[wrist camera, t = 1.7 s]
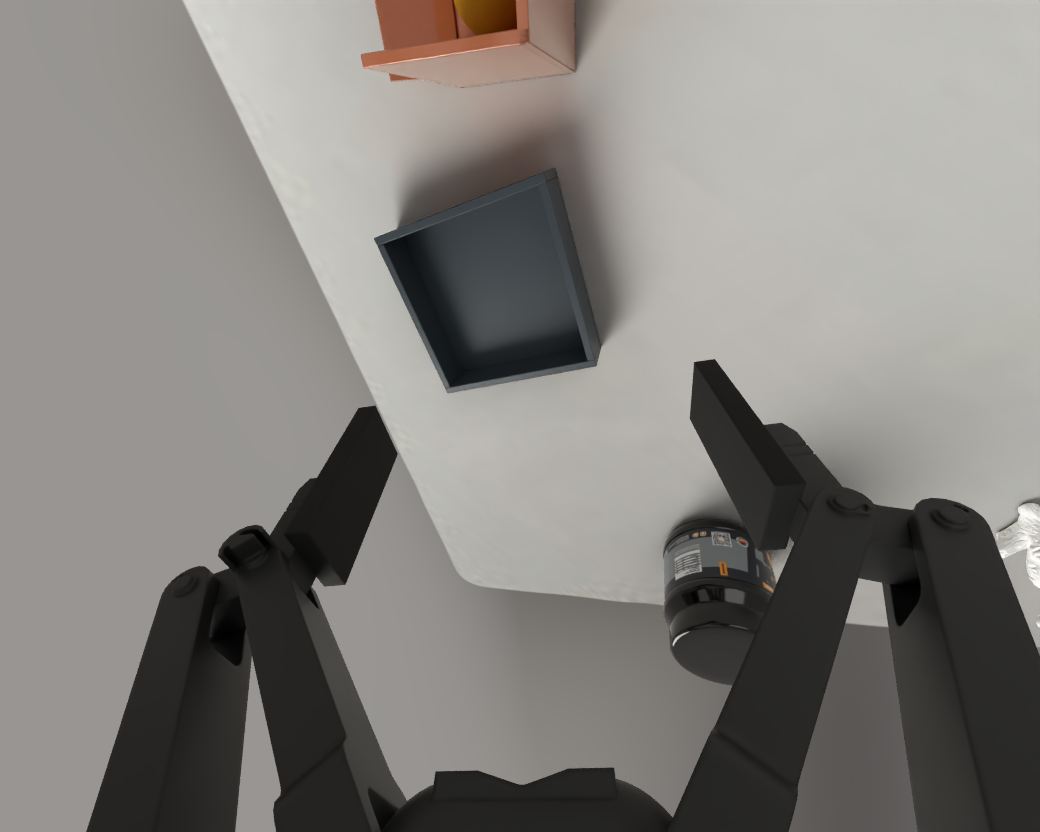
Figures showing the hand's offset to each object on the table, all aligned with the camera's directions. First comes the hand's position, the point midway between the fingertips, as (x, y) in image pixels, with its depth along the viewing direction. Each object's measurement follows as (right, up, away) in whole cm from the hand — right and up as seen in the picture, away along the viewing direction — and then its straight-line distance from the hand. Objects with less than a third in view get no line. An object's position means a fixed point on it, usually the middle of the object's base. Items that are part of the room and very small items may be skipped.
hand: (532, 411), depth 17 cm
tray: (-2, +11, +18) cm, 21 cm away
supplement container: (+21, -15, +28) cm, 38 cm away
